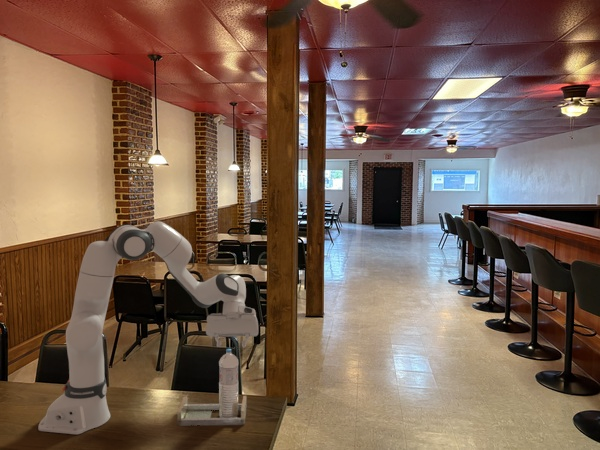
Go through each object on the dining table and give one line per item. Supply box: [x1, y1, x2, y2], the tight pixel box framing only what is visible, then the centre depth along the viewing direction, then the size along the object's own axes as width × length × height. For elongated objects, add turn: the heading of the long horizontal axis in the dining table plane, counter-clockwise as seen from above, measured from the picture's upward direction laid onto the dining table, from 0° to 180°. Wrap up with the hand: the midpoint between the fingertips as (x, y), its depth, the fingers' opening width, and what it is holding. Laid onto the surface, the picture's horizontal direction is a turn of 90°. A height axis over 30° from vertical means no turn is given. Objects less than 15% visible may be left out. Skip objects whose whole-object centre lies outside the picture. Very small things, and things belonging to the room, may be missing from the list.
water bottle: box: [218, 348, 239, 418], centre depth 160 cm, size 7×7×25 cm
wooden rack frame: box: [176, 395, 247, 427], centre depth 161 cm, size 23×11×5 cm, turn 93°
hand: (231, 346), depth 169 cm, fingers open, 8 cm apart
